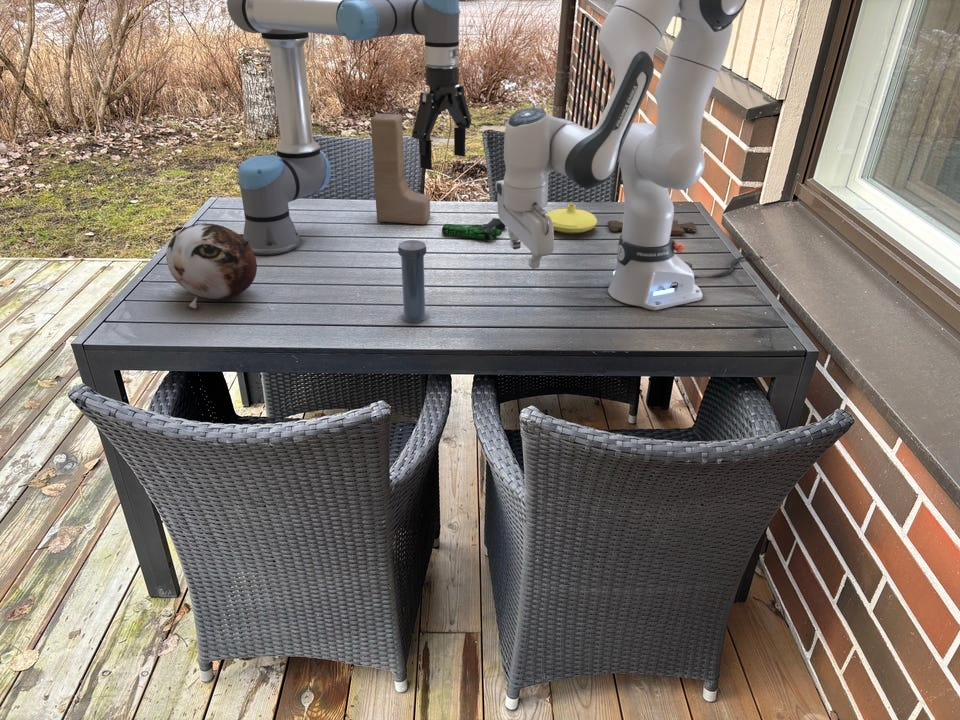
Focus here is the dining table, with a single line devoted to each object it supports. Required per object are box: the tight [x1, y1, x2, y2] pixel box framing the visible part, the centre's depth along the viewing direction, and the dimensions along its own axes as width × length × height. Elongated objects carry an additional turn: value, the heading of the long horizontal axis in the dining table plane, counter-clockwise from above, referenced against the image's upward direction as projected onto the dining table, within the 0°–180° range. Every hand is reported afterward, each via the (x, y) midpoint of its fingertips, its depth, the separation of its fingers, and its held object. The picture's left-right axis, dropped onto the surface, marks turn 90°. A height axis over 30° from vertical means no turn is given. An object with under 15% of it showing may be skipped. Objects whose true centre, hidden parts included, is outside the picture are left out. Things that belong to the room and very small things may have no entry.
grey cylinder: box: [400, 255, 426, 323], centre depth 157 cm, size 5×5×17 cm
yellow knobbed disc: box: [547, 203, 598, 234], centre depth 209 cm, size 16×16×7 cm
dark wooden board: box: [607, 219, 697, 235], centre depth 211 cm, size 26×2×10 cm
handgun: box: [441, 217, 506, 242], centre depth 207 cm, size 16×3×15 cm
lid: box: [397, 239, 427, 258], centre depth 153 cm, size 6×6×2 cm
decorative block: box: [370, 113, 431, 225], centre depth 208 cm, size 8×15×30 cm, turn 82°
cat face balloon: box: [165, 222, 258, 309], centre depth 165 cm, size 22×18×20 cm
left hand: (443, 161), depth 169 cm, fingers open, 13 cm apart
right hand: (524, 257), depth 150 cm, fingers open, 8 cm apart
